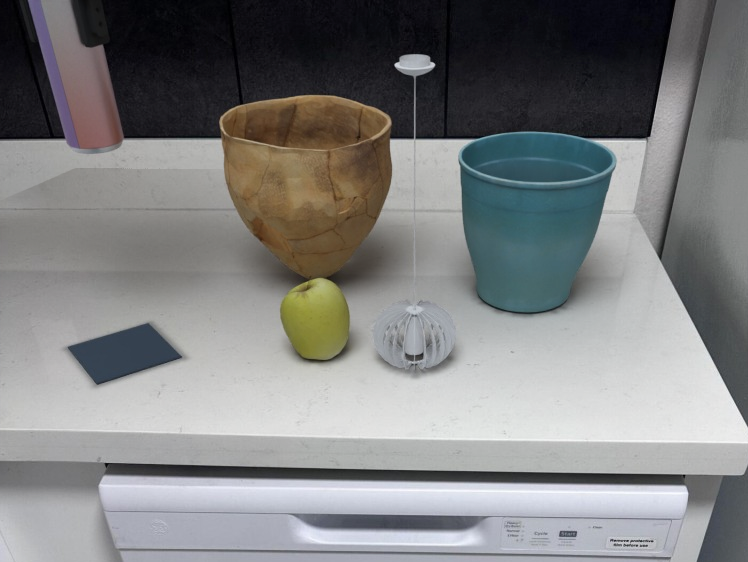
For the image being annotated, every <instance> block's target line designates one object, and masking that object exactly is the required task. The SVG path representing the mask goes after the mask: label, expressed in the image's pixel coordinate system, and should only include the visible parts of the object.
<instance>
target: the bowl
mask: <svg viewBox="0 0 748 562" xmlns="http://www.w3.org/2000/svg"><path fill="white" fill-rule="evenodd" d="M218 123H219V129H220V137H221V146H222V151H223V170H224V171H223V172H224V180H225V184H226V186H227V190H228V193H229V196H230V199H231V201H232V203H233V206H234V208H235V210H236V212H237V213H238V215H239V217H240V219H241V221H242V223H243V224H244V225H245V226H246V228H247V229H248V231H249V232H250V233H251V234H252V235H253V236H254V237H255V238H257V240H259V241H260V243H261V244H262V245H263V246H264V247H266V249H268V250H269V251H270V252H271V253H272V254H273V255H274V256H275V257H276V258H277V259H278V260H279V261H281V262H282V263H283V264H284V265H285V266H286V267H287V268H288V269H290V270H291V271H293V273H295V274H298V275H300V276H301V277H303V278H305V279H307V280H309V277H310V276H311V278H310V280H313V279H317V278H324V279H327V278H328V277H331V276H332V275H334V274H336V273H337V272H338V271H340V270H341V269H342V268H343V267H344V266H345V265H346V264H347V262H349V260H350V259H351V258H352V256H353V255H354V253H355V252H356V250H357V249H358V248H359V247H360V246H361V245H362V243H363V242H364V241H365V239H366V238H367V237H368V236H369V235H370V233H371V232H372V230H373V229H374V227H375V225H376V224H377V221H378V219H379V217H380V215H381V213H382V210H383V207H384V205H385V202H386V200H387V197H388V195H389V191H390V189H391V185H392V180H393V179H392V178H393V161H392V155H391V132H392V125H393V124H392V118H391V116H390V115H389V114H387V113H386V112H384V111H382V110H381V109H379V108H377V107H374V106H370V105H365V104H364V103H361V102H358V101H356V100H352V99H348V98H344V97H340V96H336V95H323V94H321V95H320V94H306V95H295V96H290V97H283V98H274V99H265V100H259V101H254V102H249V103H244V104H240V105H236V106H235V107H232V108H229V109H228V110H227V111H226V112H224V113H223V114H222V115H221V116H220V119H219V121H218ZM310 280H309V281H310Z"/></svg>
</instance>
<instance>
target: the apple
mask: <svg viewBox="0 0 748 562" xmlns="http://www.w3.org/2000/svg"><path fill="white" fill-rule="evenodd" d="M310 278H311V276H310V277H309V279H308V281H305V282H302V283H300V284H298V285H296V286H295V287H293V288H291V289H290V290H289V291H288V292H287V294H286V295H285V296H284V297H283V299H282V300H281V303H280V307H279V315H280V321H281V325H282V328H283V330H284V333H285V335H286V336H287V338H288V340H289V342H290V343H291V345H292V347H293V349H294V350H296V352H297V353H298V354H299V355H300V356H301V357H302V358H304V359H307V360H318V361H319V360H320V361H321V360H322V361H323V360H325V361H326V360H327V361H328V360H331V359H333V358H334V357H336V356H337V355H339V354H340V353H341V352H342V350H343V349H344V348H345V346H346V345H347V342H348V339H349V336H350V335H349V334H350V327H351V326H350V325H351V316H350V308H349V304H348V301H347V299H346V296H345V294H344V293H343V291H342V290H341V289H340V287H339V286H338V285H337V284H336V283H334V282H333V281H332V280H329V279H327V278H317V279H313V280H310Z"/></svg>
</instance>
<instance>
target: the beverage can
mask: <svg viewBox="0 0 748 562" xmlns="http://www.w3.org/2000/svg"><path fill="white" fill-rule="evenodd" d="M28 3H29V7H30V10H31V14H32V18H33V21H34V25H35V29H36V32H37V36H38V40H39V42H38V43H39V47H40V50H41V54H42V57H43V58H42V59H43V61H44V66H45V69H46V72H47V77H48V80H49V83H50V87H51V91H52V94H53V98H54V101H55V106H56V109H57V113H58V115H59V120H60V123H61V127H62V131H63V134H64V138H65V142H66V144H67V145H68V147H69V148H70V149H71V150H72V151H73V152H75V153H78V154H85V155H95V154H104V153H108V152H113V151H115V150H117V149H120V147H122V145H123V142H124V140H125V139H124V138H125V136H124V132H123V128H122V122H121V118H120V114H119V110H118V106H117V105H118V104H117V100H116V97H115V92H114V87H113V82H112V78H111V74H110V70H109V65H108V61H107V56H106V51H105V48H104V44H103V45H99V46H96V47H93V48H88V47H85V45H84V44H83V41H82V36H81V32H80V28H79V24H78V20H77V16H76V12H75V7H74V0H28Z"/></svg>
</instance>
